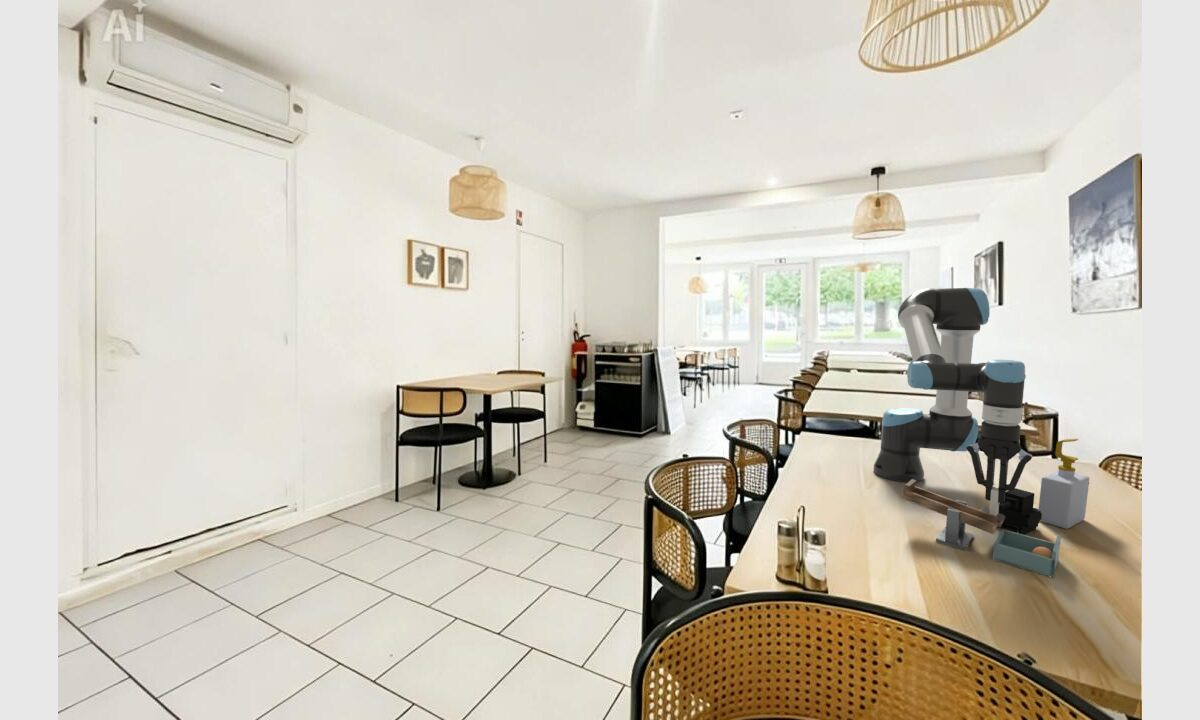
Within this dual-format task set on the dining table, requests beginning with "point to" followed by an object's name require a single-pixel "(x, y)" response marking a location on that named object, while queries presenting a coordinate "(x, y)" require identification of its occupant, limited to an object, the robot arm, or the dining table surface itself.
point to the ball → (1043, 552)
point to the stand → (955, 531)
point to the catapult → (941, 505)
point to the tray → (1026, 552)
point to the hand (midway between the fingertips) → (993, 513)
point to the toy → (1020, 511)
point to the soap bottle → (1063, 493)
